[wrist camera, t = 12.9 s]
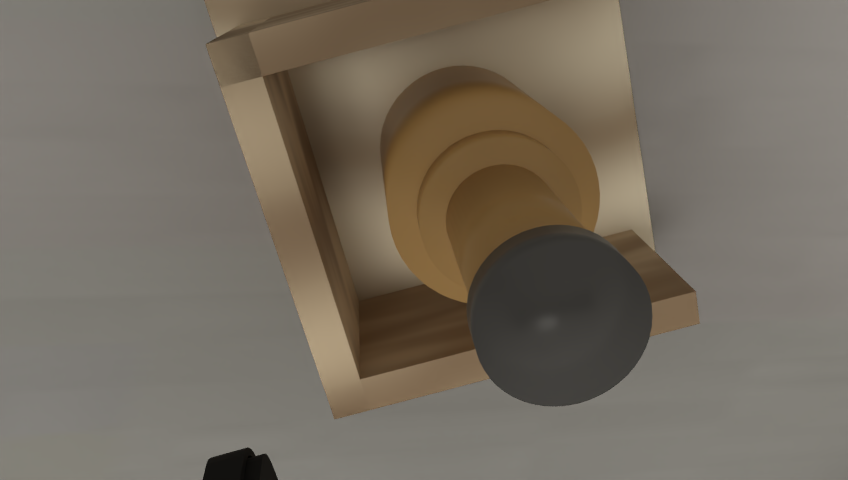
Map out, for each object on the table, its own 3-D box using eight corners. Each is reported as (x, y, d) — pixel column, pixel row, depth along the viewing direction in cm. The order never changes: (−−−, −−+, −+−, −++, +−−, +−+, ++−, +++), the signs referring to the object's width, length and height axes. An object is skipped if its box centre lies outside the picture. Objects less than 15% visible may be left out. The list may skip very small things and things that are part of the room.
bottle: (361, 89, 27) (366, 222, 13) (522, 46, 27) (701, 134, 13) (402, 240, 29) (445, 494, 15) (552, 201, 29) (734, 419, 15)
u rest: (205, -8, 26) (159, 3, 20) (597, -112, 26) (672, -133, 20) (328, 359, 32) (322, 457, 25) (654, 274, 31) (727, 350, 25)
